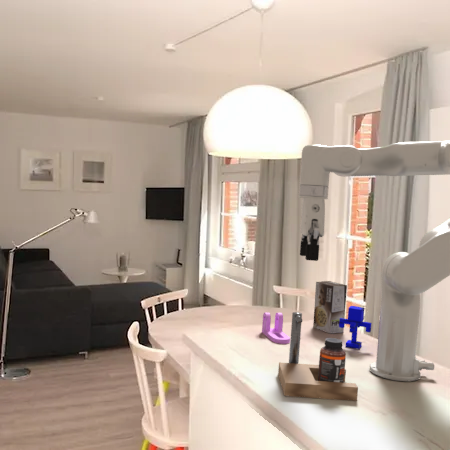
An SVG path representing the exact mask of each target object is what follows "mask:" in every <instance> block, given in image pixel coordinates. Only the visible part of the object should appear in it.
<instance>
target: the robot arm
mask: <svg viewBox="0 0 450 450" xmlns="http://www.w3.org/2000/svg"><path fill="white" fill-rule="evenodd" d="M301 151H302V152H301V161H300V171H299V172H300V174H299V187H298V188H299V189H298V199H299V198H302V203H301V215H300V234H302V235H301V237H300V238H301V240H300V247H299V248H300V249H299V255H300V256H302V257H305V260H306V261H313V262H314V261H315V262H317V261H319V255H320V254H319V253H320V238H323V237H324V236H325V224H326V223H325V221H326V220H325V218H326V202H325V200H329V199H328V198H329V184H330V175H331V173H333V174H335V175H337V176H339V177H345V178H346V177H366V176H367V177H371V176H372V177H375V176H377V177H378V176H380V177H381V176H382V177H383V176H384V177H385V176H386V177H387V176H388V177H400V176H401V177H403V176H405V177H407V176H409V177H411V176H437V175H438V176H441V175H443V176H445V175H446V176H447V175H450V140H435V141H434V140H433V141H431V140H430V141H404V142H403V141H401V142H397V143H391V144H388V145H385V146H379V147H369V148H357V147H355V146H353V145H349V144H346V145H334V146H333V145H332V146H327V145H323V144H322V145H321V144H307V145H305V146H304V147H303V148H302V150H301ZM383 263H384V264H383V265H382V269H381V301H380V312H379V313H380V314H379V326H378V334H377V335H378V336H377V349H376V350H377V351H376V361H374V362H371V363H370V364H369V371H370V372H371V373H372V374H374V375H376V376H378V377H381V378H383V379H387V380H391V381H397V382H415V381H418V380H420V379H421V374H422V373H421V371H422V370H427V371H434V370H435V363H434V362H431V361H426V360H425V359H424V360H423V359H418V358H417V357H416V356H417V345H418V334H419V333H418V332H419V320H420V314H421V313H420V309H421V294H423V293H425V292H427V291H428V290H430V289H432V288H433V287H434V286H437V285H438V284H439V283H441V282H442V281H444V280H445V279H446V278H448V277H449V276H450V217H449V218H447V219H445V220H444V221H443V222H441V223H440V224H439V225H437V226H435V227H434V228H432V229H431V230H428V232H426V233H425V234H424V235H423V236H422V237H421V238H420V241H419V245H418V247H417V248H416V249H414V250H413V251H411V252H406V251H399V252H394V253H392V254H390V255H389V256H388V257H387V258H386V259H385V261H384V262H383Z"/></svg>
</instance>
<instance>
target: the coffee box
mask: <svg viewBox="0 0 450 450" xmlns="http://www.w3.org/2000/svg"><path fill="white" fill-rule="evenodd" d="M347 289H348V285H347V284H343V283H340V282H335V281H331V280H324V281H315V294H314V307H313V308H314V309H313V310H314V311H313V322H312V323H313V324H312V325H313V326H312V327H313V328H314V329H317V330H319V329H320V331H322V330H323V332H325V331H326V332H325V333H328V334H339V333H344V328H345V327H344V328H340V327H339V322H340V318H344V319H346V318H345V317H346V316H345V315H346V303H347V301H346V300H347V293H348V292H347Z"/></svg>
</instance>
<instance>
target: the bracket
mask: <svg viewBox="0 0 450 450" xmlns="http://www.w3.org/2000/svg"><path fill="white" fill-rule="evenodd" d="M271 318H272V317H271V313H270V312H263V315H262V325H261V326H262V327H261V333H262V334H263V335H264V336H265V337H267V338H268V339H269V340H270V341H271V342H273V343H275V344H279V345H284V344H285V345H286V344H287V345H288V344H290V340H291V336H289V335H288V334H286V333H285V332H283V327H284V315H283V312H276V313H275V317H274V327H271V321H272V319H271Z"/></svg>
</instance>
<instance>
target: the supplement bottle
mask: <svg viewBox="0 0 450 450" xmlns="http://www.w3.org/2000/svg"><path fill="white" fill-rule="evenodd" d="M346 354H347V353H346V351H345V349H343V340H342V339H340V338H335V337H334V338H333V337H326V338H325V339H324V346H323V347H321V348H320V351H319V359H318V365H319V371H318V380H317V381H326V382H342V383H345V382H344V371H345V369H346V358H347V355H346Z"/></svg>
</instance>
